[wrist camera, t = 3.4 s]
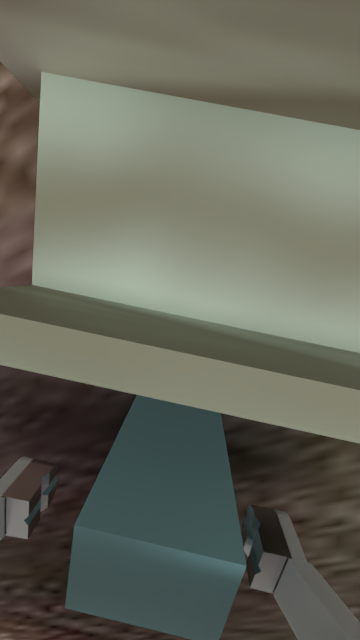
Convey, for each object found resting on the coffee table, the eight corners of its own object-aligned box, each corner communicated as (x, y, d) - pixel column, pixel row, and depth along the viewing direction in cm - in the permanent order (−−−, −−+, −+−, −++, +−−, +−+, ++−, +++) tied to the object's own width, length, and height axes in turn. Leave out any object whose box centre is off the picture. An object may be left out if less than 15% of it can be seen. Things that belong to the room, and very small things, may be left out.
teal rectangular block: (205, 468, 14) (213, 655, 7) (127, 450, 14) (63, 618, 7) (220, 411, 13) (246, 565, 6) (137, 393, 13) (74, 524, 6)
